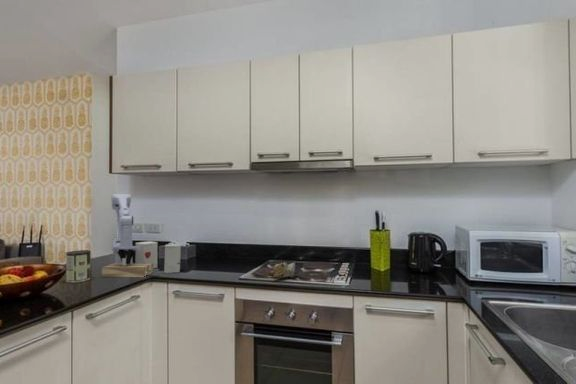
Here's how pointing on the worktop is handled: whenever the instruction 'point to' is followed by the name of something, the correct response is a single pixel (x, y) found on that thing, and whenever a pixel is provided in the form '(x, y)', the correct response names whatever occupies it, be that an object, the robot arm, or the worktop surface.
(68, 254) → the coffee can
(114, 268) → the block
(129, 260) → the robot arm
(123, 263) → the bracket plate
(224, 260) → the worktop surface
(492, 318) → the worktop surface
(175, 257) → the skincare box
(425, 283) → the worktop surface
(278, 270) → the ceramic sculpture
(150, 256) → the supplement box
